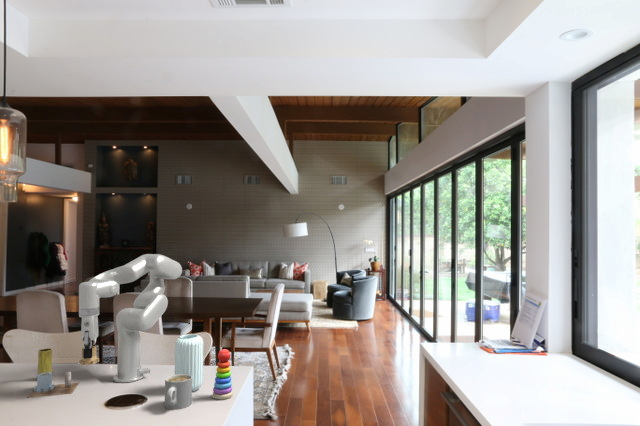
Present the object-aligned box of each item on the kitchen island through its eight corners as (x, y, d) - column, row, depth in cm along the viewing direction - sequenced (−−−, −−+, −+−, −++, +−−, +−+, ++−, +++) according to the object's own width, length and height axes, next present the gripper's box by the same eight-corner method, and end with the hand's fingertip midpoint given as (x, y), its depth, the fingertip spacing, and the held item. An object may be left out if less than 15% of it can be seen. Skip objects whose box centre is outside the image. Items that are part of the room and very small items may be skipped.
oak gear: (100, 359, 188) (100, 344, 188) (97, 364, 182) (97, 349, 182) (81, 360, 186) (81, 346, 186) (77, 365, 180) (77, 350, 180)
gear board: (79, 386, 192) (80, 368, 193) (71, 397, 179) (72, 378, 179) (37, 389, 188) (37, 371, 188) (26, 401, 174) (26, 382, 175)
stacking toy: (222, 401, 174) (223, 353, 175) (208, 397, 178) (208, 350, 180) (236, 395, 181) (237, 348, 182) (222, 392, 185) (222, 346, 186)
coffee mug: (175, 398, 178) (175, 373, 178) (196, 401, 175) (197, 375, 175) (152, 411, 165) (153, 383, 165) (175, 414, 162) (176, 386, 162)
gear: (52, 385, 189) (53, 370, 189) (55, 389, 184) (56, 374, 184) (33, 388, 185) (33, 374, 185) (35, 393, 179) (36, 378, 180)
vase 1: (44, 385, 194) (45, 351, 194) (32, 384, 195) (33, 351, 196) (55, 380, 200) (56, 348, 200) (43, 379, 201) (45, 347, 202)
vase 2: (194, 395, 182) (195, 339, 183) (169, 393, 184) (170, 338, 185) (207, 385, 193) (208, 333, 194) (182, 384, 195) (183, 332, 196)
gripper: (95, 315, 177) (95, 361, 177) (102, 307, 194) (102, 349, 193) (74, 316, 175) (74, 363, 175) (83, 308, 191) (83, 351, 191)
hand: (89, 355), depth 184 cm, fingers closed on oak gear, 5 cm apart
